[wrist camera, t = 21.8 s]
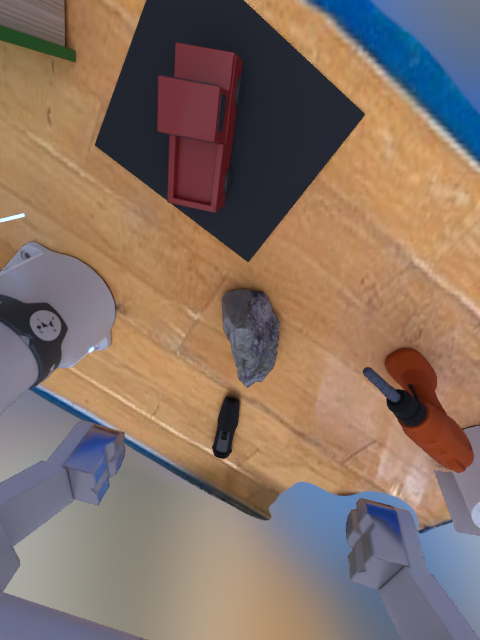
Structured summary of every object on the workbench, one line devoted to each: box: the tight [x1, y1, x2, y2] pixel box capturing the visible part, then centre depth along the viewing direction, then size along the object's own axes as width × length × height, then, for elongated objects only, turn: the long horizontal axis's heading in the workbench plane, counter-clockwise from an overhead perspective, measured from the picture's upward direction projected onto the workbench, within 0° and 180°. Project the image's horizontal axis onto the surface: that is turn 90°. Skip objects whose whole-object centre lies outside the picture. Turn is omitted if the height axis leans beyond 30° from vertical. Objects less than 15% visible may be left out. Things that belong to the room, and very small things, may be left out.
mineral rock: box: [222, 289, 280, 388], centre depth 41 cm, size 13×11×10 cm
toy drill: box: [363, 348, 474, 473], centre depth 36 cm, size 5×19×15 cm, turn 47°
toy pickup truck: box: [158, 42, 245, 213], centre depth 30 cm, size 13×6×8 cm, turn 171°
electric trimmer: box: [212, 397, 240, 459], centre depth 55 cm, size 4×16×3 cm, turn 171°
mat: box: [95, 0, 365, 262], centre depth 33 cm, size 19×22×1 cm
